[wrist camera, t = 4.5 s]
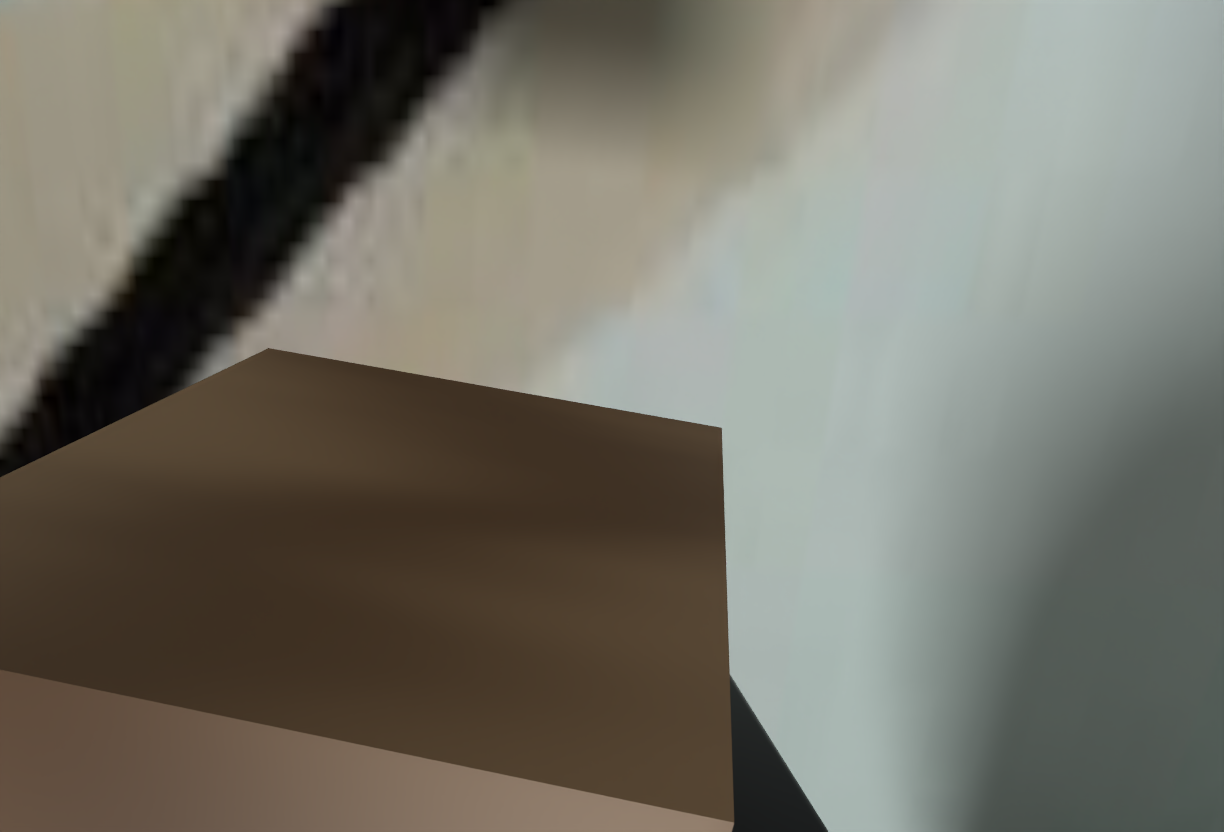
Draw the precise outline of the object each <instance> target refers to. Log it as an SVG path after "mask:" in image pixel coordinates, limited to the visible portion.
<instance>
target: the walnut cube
mask: <svg viewBox="0 0 1224 832" xmlns="http://www.w3.org/2000/svg"><path fill="white" fill-rule="evenodd" d="M733 826H734V799H733V768H732V737H731V705H730V674H729V643H728V611H727V580H726V549H725V518H724V486H723V455H722V428H719V427H714V426H708V425H702V424H697V423H691V422H685V421H679V420H674V419H668V418H662V417H657V416H651V415H645V414H640V413H634V412H628V411H623V410H617V409H611V408H605V407H600V406H594V405H588V404H583V403H577V402H571V401H566V400H560V399H554V398H549V397H543V396H537V395H532V394H526V393H520V392H514V391H509V390H503V389H497V388H492V387H486V386H480V385H475V384H469V383H463V382H458V381H452V380H446V379H440V378H435V377H429V376H423V375H418V374H412V373H406V372H401V371H395V370H389V369H384V368H378V367H372V366H366V365H361V364H355V363H349V362H344V361H338V360H332V359H327V358H321V357H315V356H310V355H304V354H298V353H293V352H287V351H281V350H275V349H270V348H268V349H266V350H264V351H262V352H260V353H258V354H256V355H253V356H251V357H249V358H247V359H245V360H243V361H241V362H239V363H237V364H235V365H233V366H231V367H229V368H227V369H224V370H222V371H220V372H218V373H216V374H214V375H212V376H210V377H208V378H206V379H204V380H202V381H200V382H198V383H195V384H193V385H191V386H189V387H187V388H185V389H183V390H181V391H179V392H177V393H175V394H173V395H171V396H169V397H166V398H164V399H162V400H160V401H158V402H156V403H154V404H152V405H150V406H148V407H146V408H144V409H142V410H139V411H137V412H135V413H133V414H131V415H129V416H127V417H125V418H123V419H121V420H119V421H117V422H115V423H113V424H110V425H108V426H106V427H104V428H102V429H100V430H98V431H96V432H94V433H92V434H90V435H88V436H86V437H84V438H81V439H79V440H77V441H75V442H73V443H71V444H69V445H67V446H65V447H63V448H61V449H59V450H57V451H55V452H52V453H50V454H48V455H46V456H44V457H42V458H40V459H38V460H36V461H34V462H32V463H30V464H28V465H26V466H23V467H21V468H19V469H17V470H15V471H13V472H11V473H9V474H7V475H5V476H3V477H1V478H0V832H732V829H733Z"/></svg>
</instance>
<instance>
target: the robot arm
mask: <svg viewBox="0 0 1224 832" xmlns="http://www.w3.org/2000/svg"><path fill="white" fill-rule="evenodd" d="M730 705H731V737H732V768H733V799H734V826H733V829H732V832H828V830H827V829H826V827H825V826H824V824H823V822H822V821H821V819H820V818H819V816H818V814H817V813H816V811H815V810H814V808H813V806H812V805H811V803H810V802H809V800H808V798H807V797H806V795H805V794H804V792H803V790H802V789H801V787H800V786H799V784H798V782H797V781H796V779H795V778H794V776H793V774H792V773H791V771H790V770H789V768H788V766H787V765H786V763H785V762H784V760H783V758H782V757H781V755H780V754H779V752H778V751H777V749H776V747H775V746H774V744H773V743H772V741H771V739H770V738H769V736H768V735H767V733H766V731H765V730H764V728H763V727H762V725H761V723H760V722H759V720H758V719H757V717H756V715H755V714H754V712H753V711H752V709H751V707H750V706H749V704H748V703H747V701H746V699H745V698H744V696H743V695H742V693H741V691H740V690H739V688H738V687H737V685H736V683H735V682H734V680H733V679H732V677H731V675H730Z"/></svg>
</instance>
